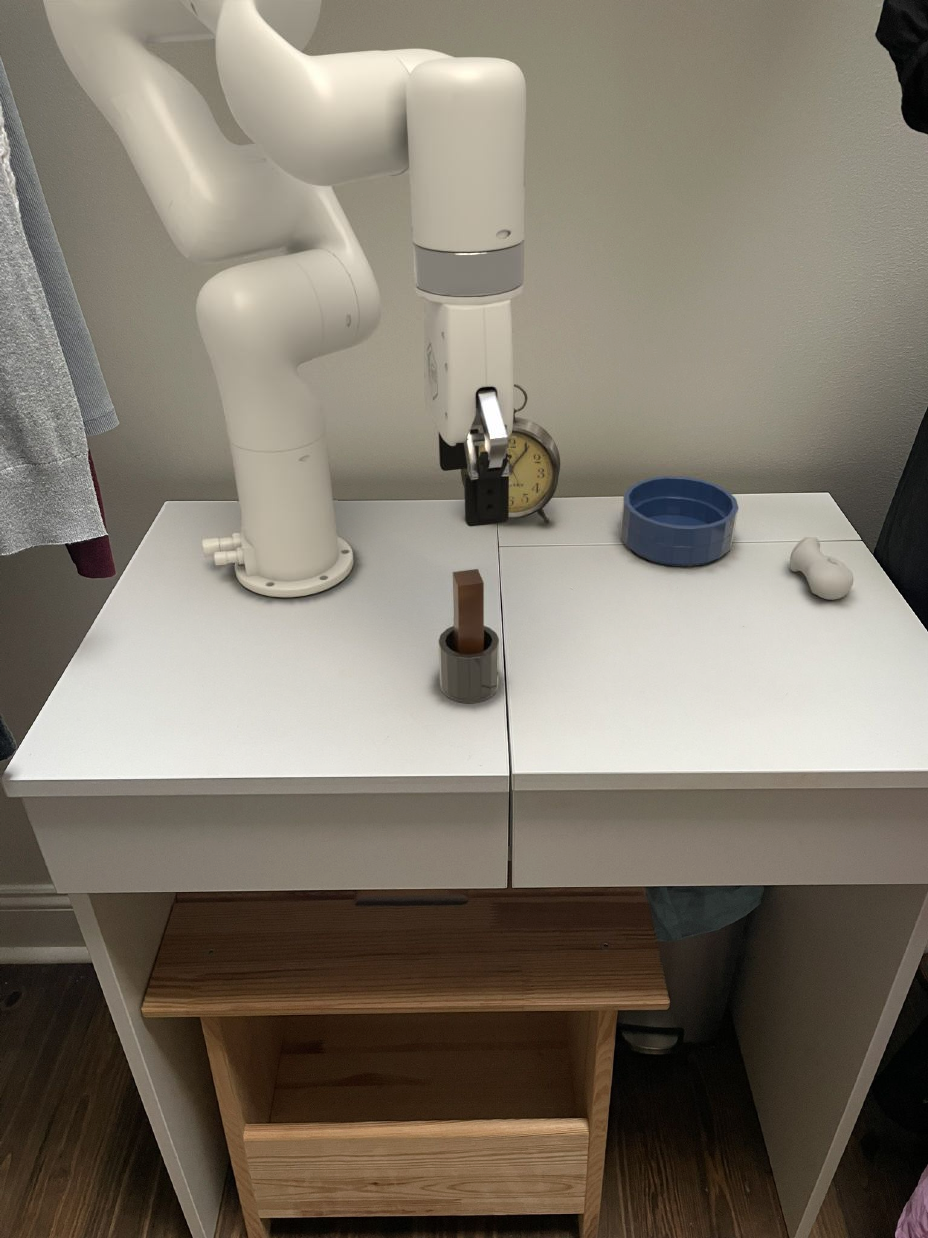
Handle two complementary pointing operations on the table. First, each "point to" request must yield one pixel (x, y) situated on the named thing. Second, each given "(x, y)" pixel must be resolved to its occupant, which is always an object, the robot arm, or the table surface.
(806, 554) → the smooth white sculpture
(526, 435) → the alarm clock
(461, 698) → the crock
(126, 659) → the table surface
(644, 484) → the bowl
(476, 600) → the stick
